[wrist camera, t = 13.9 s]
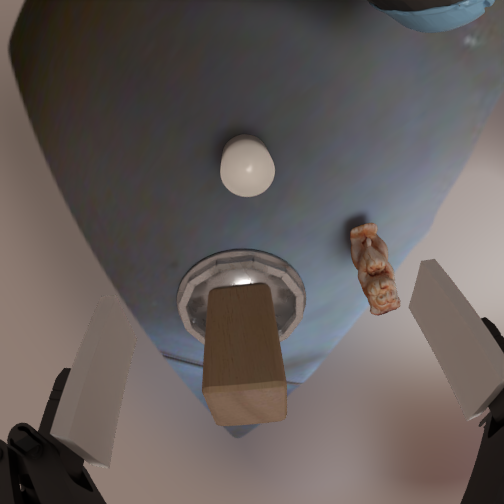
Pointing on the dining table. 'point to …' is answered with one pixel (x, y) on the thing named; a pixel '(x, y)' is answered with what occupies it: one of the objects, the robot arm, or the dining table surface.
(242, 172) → the white domed cylinder
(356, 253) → the figurine
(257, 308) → the block
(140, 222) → the dining table surface
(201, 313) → the metallic bowl
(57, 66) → the dining table surface
